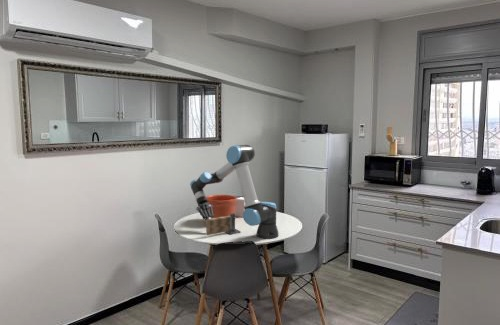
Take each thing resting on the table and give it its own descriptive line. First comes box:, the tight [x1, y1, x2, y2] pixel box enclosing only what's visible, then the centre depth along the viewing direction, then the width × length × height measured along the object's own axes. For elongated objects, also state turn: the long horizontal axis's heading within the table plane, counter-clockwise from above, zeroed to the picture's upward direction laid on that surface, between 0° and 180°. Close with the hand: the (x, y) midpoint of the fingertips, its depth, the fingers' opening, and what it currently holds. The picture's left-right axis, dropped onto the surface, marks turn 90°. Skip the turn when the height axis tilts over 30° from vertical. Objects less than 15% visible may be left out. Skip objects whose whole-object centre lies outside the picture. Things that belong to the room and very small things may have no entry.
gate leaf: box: [205, 216, 231, 236], centre depth 250 cm, size 18×2×10 cm, turn 125°
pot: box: [206, 194, 238, 218], centre depth 286 cm, size 25×25×19 cm
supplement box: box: [235, 196, 245, 218], centre depth 304 cm, size 9×9×15 cm
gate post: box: [225, 213, 241, 235], centre depth 257 cm, size 8×8×14 cm
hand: (212, 226), depth 254 cm, fingers closed
